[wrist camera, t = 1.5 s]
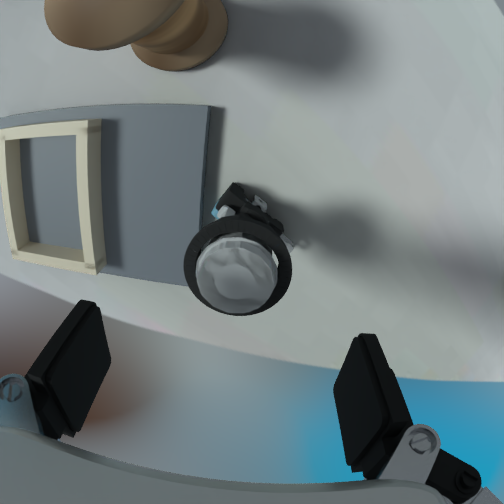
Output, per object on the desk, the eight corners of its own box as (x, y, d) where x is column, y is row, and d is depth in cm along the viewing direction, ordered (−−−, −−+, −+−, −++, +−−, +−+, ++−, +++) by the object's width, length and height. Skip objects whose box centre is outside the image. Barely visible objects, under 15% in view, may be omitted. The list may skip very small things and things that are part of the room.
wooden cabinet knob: (233, -13, 16) (205, -93, 6) (222, 72, 19) (178, 39, 9) (141, -8, 16) (63, -62, 6) (129, 72, 19) (33, 59, 9)
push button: (312, 219, 23) (337, 291, 14) (266, 267, 25) (264, 355, 16) (242, 163, 22) (222, 203, 13) (199, 217, 24) (158, 287, 15)
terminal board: (211, 105, 20) (201, 105, 17) (199, 280, 26) (191, 301, 23) (7, 116, 20) (-15, 120, 17) (20, 251, 26) (2, 265, 23)
